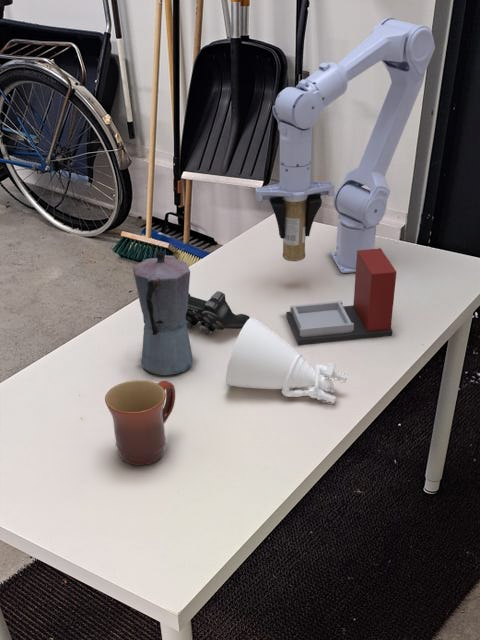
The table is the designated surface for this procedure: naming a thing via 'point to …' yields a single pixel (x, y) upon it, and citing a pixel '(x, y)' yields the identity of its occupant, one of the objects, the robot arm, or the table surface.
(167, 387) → the mug
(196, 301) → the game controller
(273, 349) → the rocket engine
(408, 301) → the table surface
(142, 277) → the moka pot
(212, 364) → the table surface
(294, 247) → the sprinkles bottle
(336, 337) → the coffee maker
